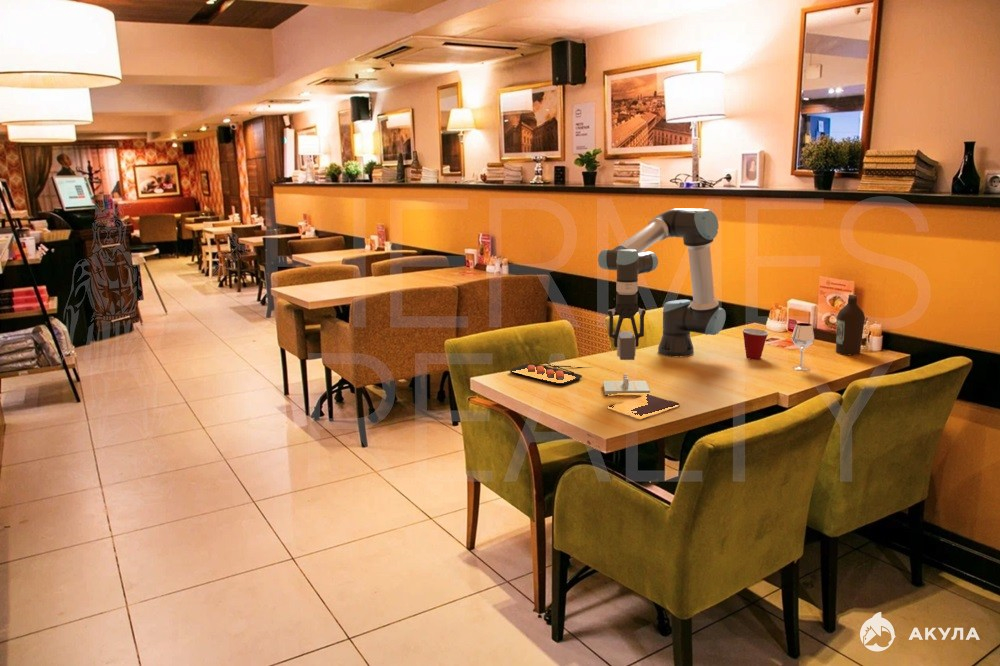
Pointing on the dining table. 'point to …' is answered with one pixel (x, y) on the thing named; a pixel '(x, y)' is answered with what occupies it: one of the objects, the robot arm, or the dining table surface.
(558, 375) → the sushi plate
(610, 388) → the board
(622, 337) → the block
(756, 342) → the plastic cup
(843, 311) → the olive oil
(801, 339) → the wineglass
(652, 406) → the notebook
